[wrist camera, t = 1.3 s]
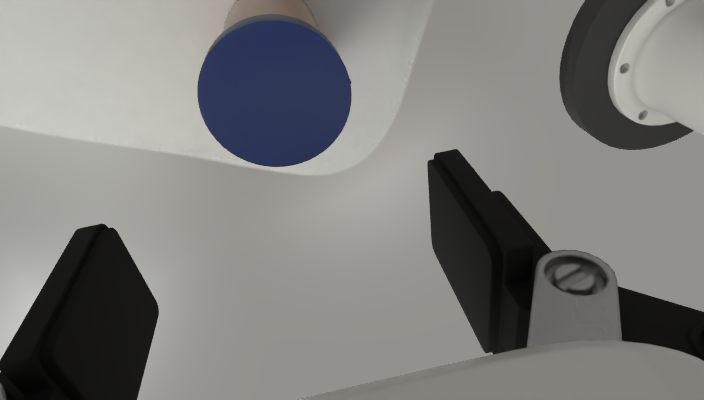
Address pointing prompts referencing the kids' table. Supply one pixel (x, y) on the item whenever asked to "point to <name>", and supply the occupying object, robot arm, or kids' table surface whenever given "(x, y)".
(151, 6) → the kids' table surface
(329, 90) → the lid
